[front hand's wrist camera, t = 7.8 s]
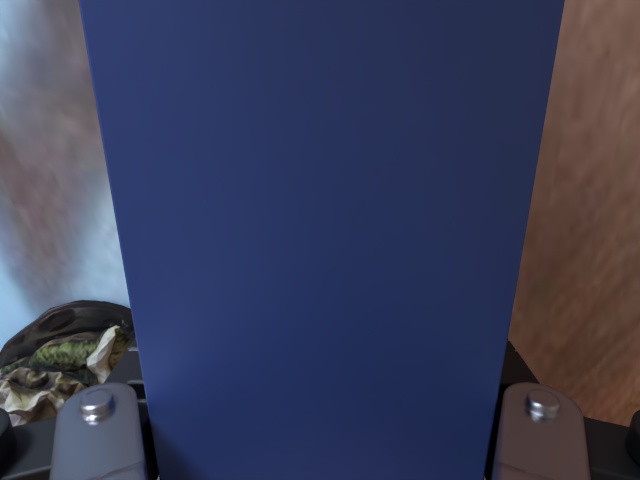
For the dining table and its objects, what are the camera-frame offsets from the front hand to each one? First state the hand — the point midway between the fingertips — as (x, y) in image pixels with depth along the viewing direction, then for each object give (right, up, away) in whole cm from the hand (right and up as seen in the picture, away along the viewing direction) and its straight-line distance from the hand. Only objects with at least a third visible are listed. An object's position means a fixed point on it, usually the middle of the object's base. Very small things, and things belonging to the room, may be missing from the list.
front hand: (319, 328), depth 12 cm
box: (0, +11, +2) cm, 12 cm away
